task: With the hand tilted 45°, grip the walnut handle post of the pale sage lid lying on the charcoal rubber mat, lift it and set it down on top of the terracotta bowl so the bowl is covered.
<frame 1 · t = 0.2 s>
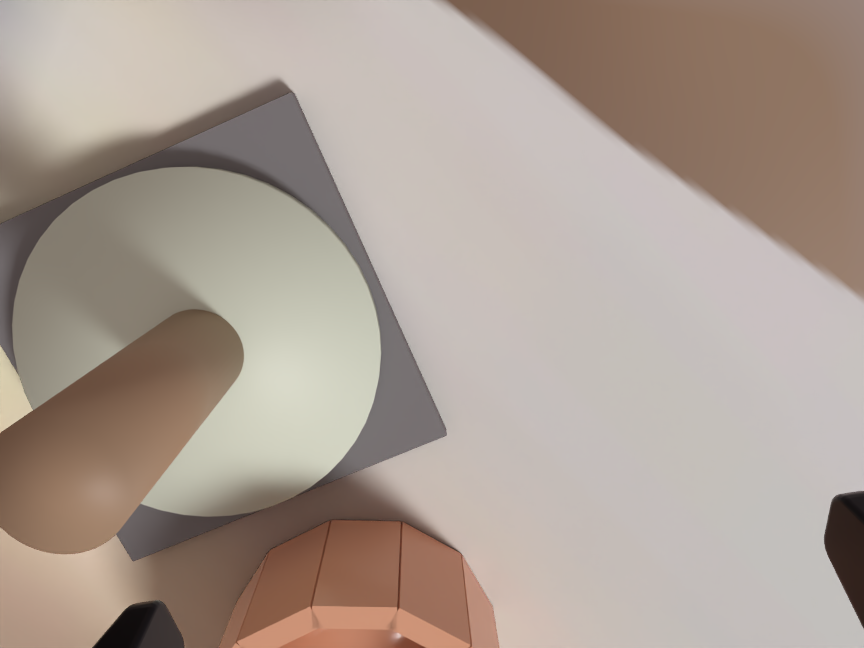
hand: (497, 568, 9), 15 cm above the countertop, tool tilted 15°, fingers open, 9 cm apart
lid: (205, 346, 23), point 1 cm above the countertop, touching mat
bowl: (364, 634, 27), on the countertop
mat: (210, 341, 24), on the countertop
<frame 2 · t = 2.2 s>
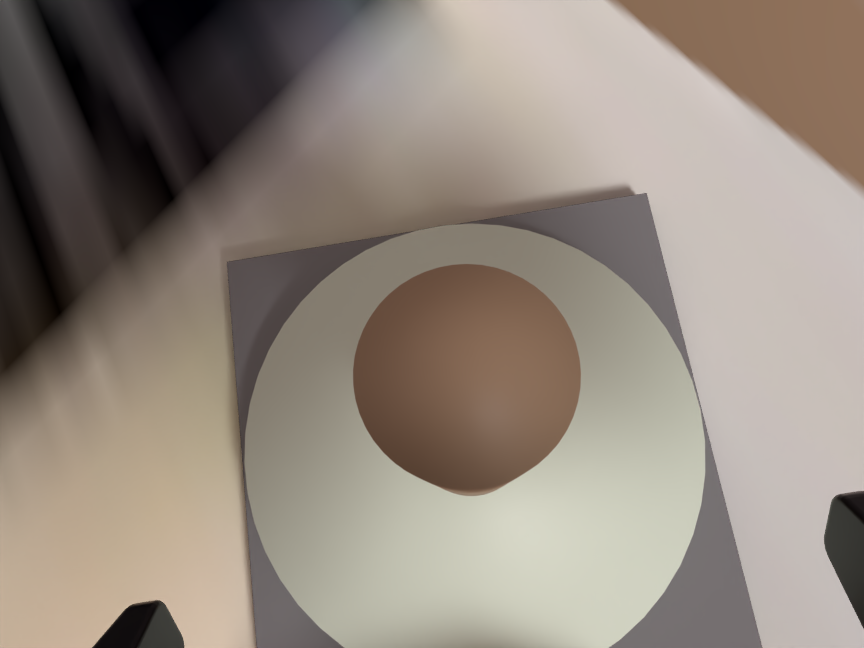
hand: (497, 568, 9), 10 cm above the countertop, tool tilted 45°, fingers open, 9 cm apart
lid: (470, 439, 19), point 1 cm above the countertop, touching mat
mat: (470, 441, 19), on the countertop
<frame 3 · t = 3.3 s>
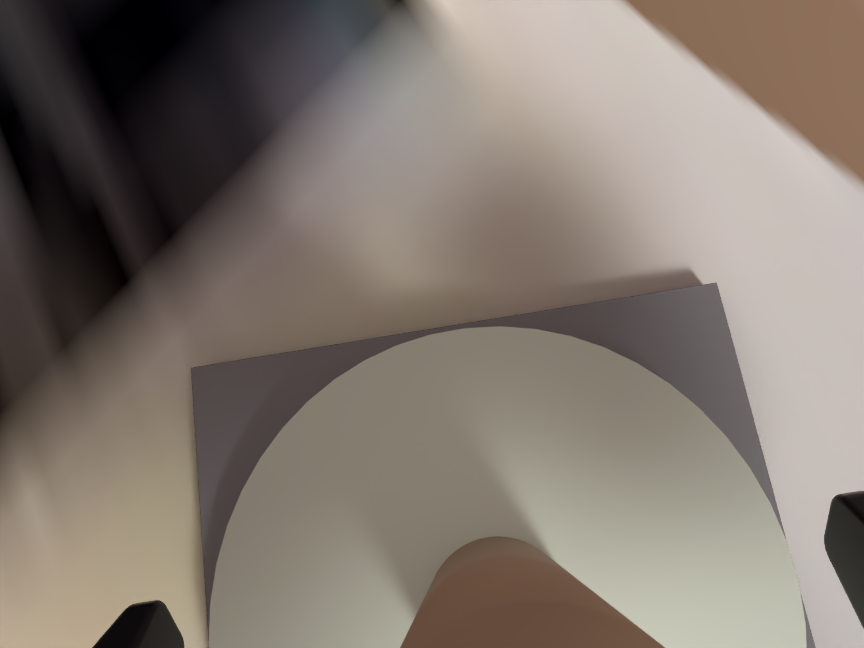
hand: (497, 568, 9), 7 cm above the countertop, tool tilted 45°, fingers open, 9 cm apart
lid: (498, 607, 15), point 1 cm above the countertop, touching mat
mat: (497, 603, 15), on the countertop
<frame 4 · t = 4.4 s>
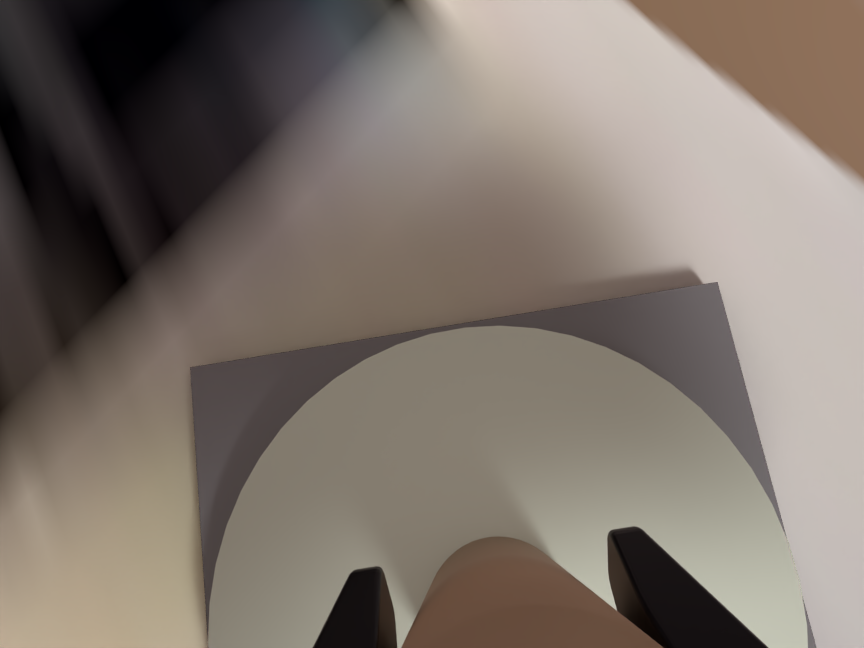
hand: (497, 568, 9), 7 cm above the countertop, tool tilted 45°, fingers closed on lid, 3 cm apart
lid: (498, 607, 15), point 1 cm above the countertop, touching gripper, mat
mat: (497, 603, 15), on the countertop
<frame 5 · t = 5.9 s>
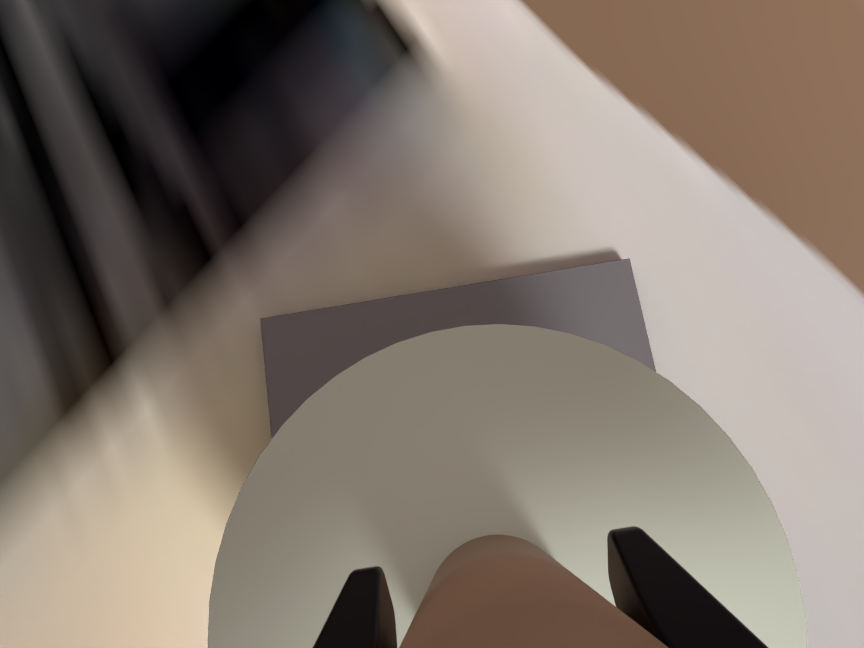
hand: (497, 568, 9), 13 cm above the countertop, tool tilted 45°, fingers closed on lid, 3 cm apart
lid: (498, 606, 15), point 7 cm above the countertop, touching gripper
mat: (474, 478, 22), on the countertop
when the fingers open (12 cm above the countertop, at t = 7.3 s): lid drops 1 cm, resting on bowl.
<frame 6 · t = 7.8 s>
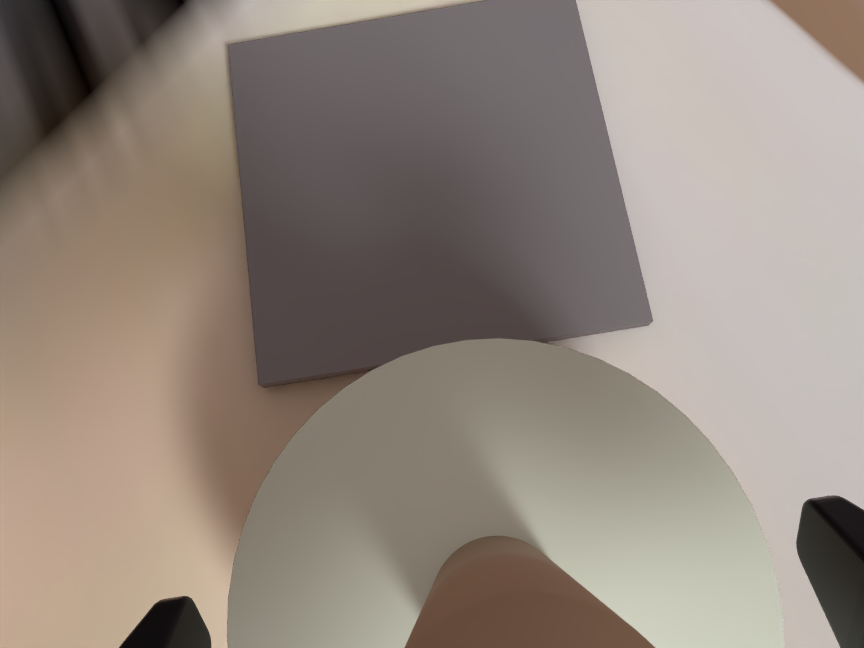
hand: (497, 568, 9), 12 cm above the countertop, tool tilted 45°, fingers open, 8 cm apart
lid: (497, 602, 16), point 5 cm above the countertop, touching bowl
mat: (426, 180, 24), on the countertop
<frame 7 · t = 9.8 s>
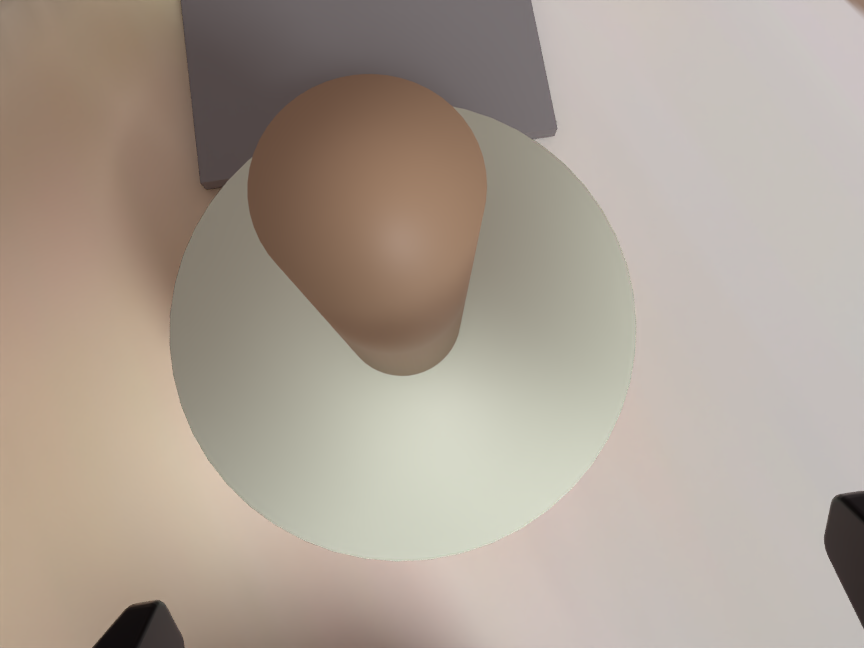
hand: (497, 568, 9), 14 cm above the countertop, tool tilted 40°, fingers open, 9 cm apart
lid: (403, 323, 18), point 5 cm above the countertop, touching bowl
mat: (356, 5, 26), on the countertop
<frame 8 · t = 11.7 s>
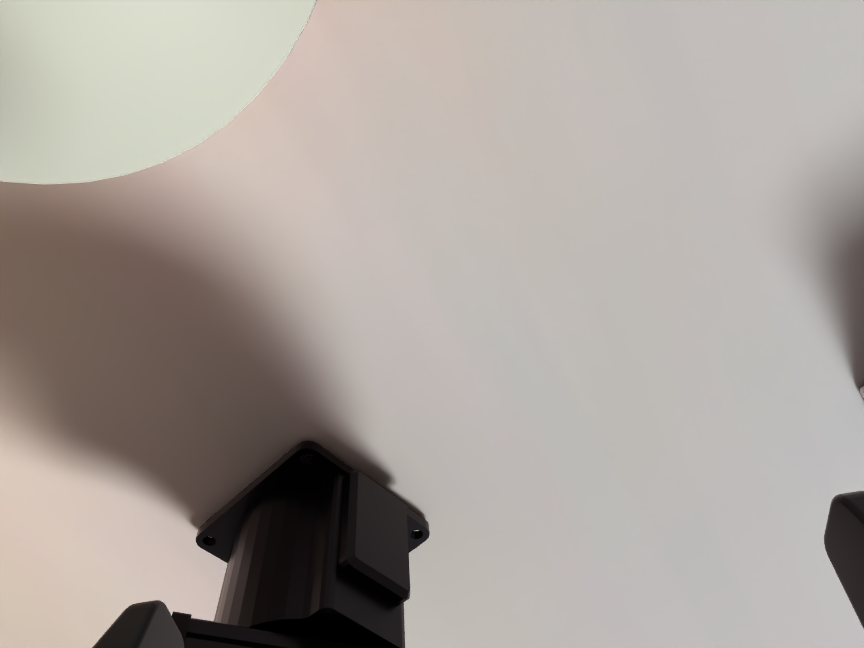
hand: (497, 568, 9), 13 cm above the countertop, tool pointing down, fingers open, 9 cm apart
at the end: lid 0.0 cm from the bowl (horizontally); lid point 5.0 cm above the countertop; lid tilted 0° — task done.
